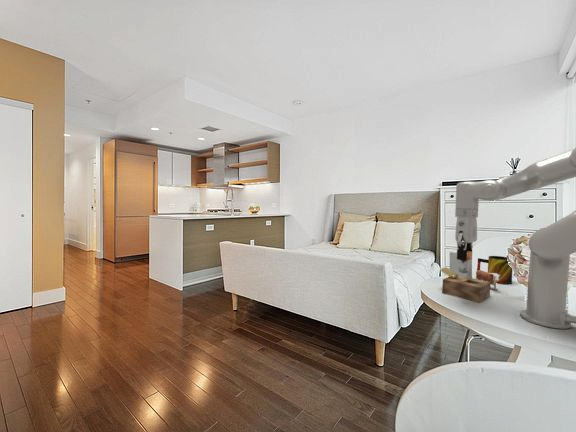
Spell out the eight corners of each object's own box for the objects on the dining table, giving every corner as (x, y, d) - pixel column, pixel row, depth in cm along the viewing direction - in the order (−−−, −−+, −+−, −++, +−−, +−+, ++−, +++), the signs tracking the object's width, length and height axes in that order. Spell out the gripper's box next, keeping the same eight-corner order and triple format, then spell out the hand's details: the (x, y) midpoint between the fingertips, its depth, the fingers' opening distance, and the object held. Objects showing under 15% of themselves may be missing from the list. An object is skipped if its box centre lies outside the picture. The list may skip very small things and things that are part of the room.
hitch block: (489, 296, 115) (490, 282, 114) (479, 302, 107) (480, 287, 107) (453, 287, 126) (454, 274, 125) (442, 292, 118) (442, 279, 118)
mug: (476, 276, 144) (477, 254, 143) (509, 280, 137) (511, 257, 136) (477, 281, 136) (479, 257, 135) (513, 286, 129) (514, 261, 128)
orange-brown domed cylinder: (472, 272, 108) (474, 251, 107) (468, 274, 104) (469, 252, 104) (458, 269, 112) (459, 249, 111) (453, 271, 108) (454, 250, 108)
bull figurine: (494, 293, 118) (496, 274, 118) (473, 283, 132) (473, 267, 131) (504, 293, 119) (505, 274, 118) (481, 283, 132) (482, 267, 131)
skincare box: (472, 282, 133) (473, 252, 132) (466, 284, 130) (467, 253, 129) (454, 278, 140) (455, 249, 139) (448, 280, 137) (449, 251, 136)
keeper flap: (457, 277, 121) (458, 275, 120) (453, 279, 118) (454, 277, 118) (444, 269, 125) (445, 267, 125) (440, 270, 122) (441, 268, 122)
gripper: (470, 214, 98) (467, 263, 100) (484, 213, 109) (482, 257, 110) (447, 213, 104) (445, 260, 105) (463, 212, 115) (461, 254, 116)
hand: (464, 258), depth 108 cm, fingers closed on orange-brown domed cylinder, 5 cm apart
